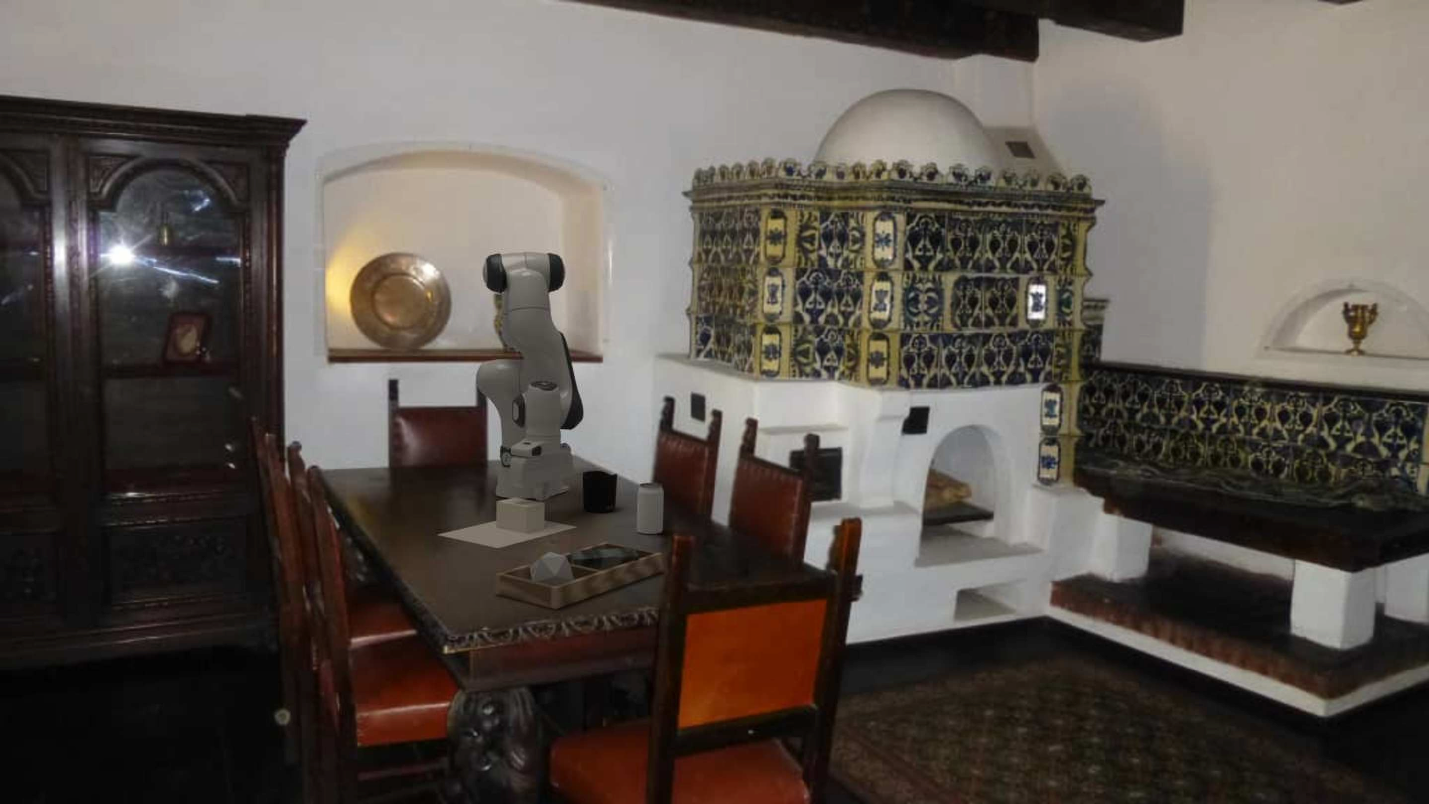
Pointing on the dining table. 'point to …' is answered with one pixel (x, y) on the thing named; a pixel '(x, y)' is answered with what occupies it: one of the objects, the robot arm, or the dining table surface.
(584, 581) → the walnut tray
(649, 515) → the can
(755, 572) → the dining table surface
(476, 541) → the felt mat
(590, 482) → the pen holder
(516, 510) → the plain beige block
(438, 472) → the dining table surface
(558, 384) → the robot arm
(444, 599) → the dining table surface
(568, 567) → the die
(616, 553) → the stone block
